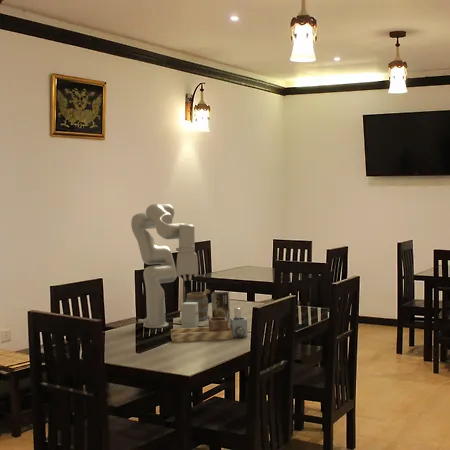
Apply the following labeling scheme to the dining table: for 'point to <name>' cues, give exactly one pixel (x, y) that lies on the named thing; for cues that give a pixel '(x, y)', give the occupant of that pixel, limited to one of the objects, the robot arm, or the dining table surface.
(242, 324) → the grey hollow block
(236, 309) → the pin
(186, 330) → the tray
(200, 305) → the tankard
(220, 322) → the crate
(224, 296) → the coffee box
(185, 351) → the dining table surface
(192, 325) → the supplement box
